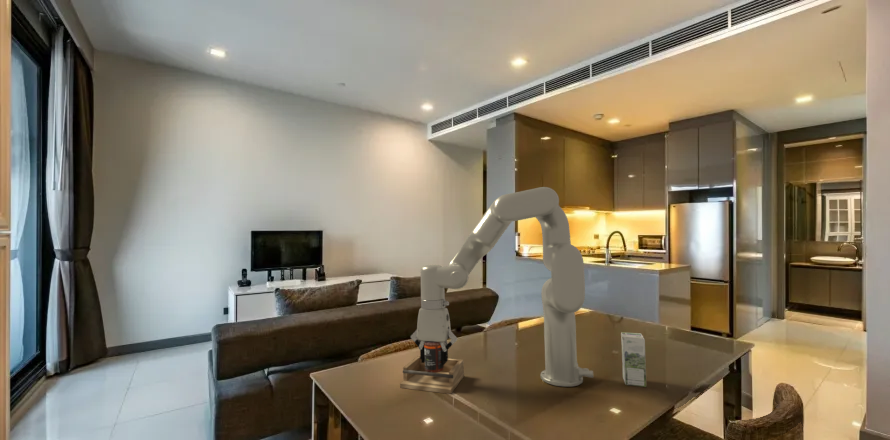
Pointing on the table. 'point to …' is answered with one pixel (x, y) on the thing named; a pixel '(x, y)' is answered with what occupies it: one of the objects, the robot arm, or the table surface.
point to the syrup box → (633, 359)
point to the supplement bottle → (433, 356)
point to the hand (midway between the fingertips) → (434, 361)
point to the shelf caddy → (432, 376)
